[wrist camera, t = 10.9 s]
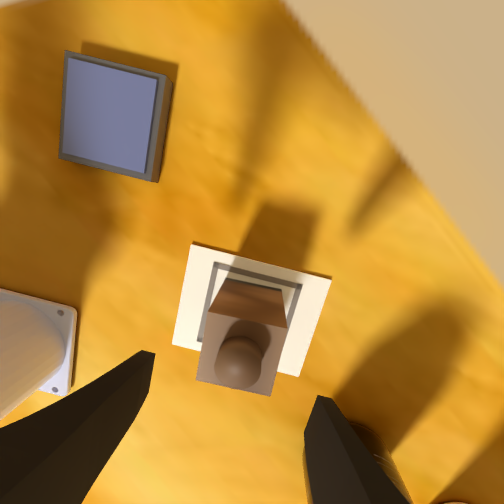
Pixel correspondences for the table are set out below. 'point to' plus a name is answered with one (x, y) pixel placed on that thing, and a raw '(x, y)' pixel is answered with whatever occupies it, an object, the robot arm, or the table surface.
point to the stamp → (243, 337)
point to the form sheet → (236, 267)
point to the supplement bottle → (377, 452)
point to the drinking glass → (455, 503)
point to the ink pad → (113, 116)
